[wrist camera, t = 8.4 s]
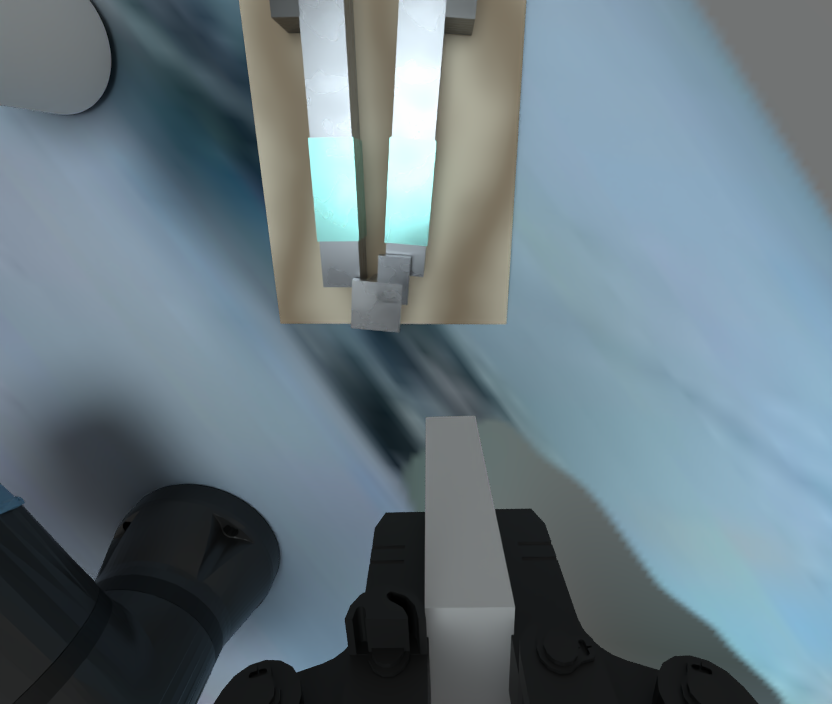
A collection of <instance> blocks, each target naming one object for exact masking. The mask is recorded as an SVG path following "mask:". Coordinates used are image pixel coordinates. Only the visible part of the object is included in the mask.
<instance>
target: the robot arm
mask: <svg viewBox="0 0 832 704" xmlns="http://www.w3.org/2000/svg"><path fill="white" fill-rule="evenodd" d="M425 467H426V471H425V474H426V475H425V512H395V513H385V514H384V516H383V517H382V519H381V520H380V522H379V523H378V524H377V526H376V527H375V532H374V538H373V545H372V552H371V558H370V565H369V571H368V578H367V585H366V591H365V593H363V594H361V595H360V596H359V597H358V598H357V599H356V600H355V601H354V602H353V603H352V604H351V605H350V608H349V610H348V613H347V615H346V617H345V625H346V633H347V641H348V647H347V648H346V649H345V650H344V651H343V652H342V653H341V654H339V655H338V656H337V657H335V658H334V659H332V660H329V661H327V662H325V663H323V664H320V665H317V666H314V667H311V668H309V669H306V670H303V671H300V672H297V673H296V672H295V670H294V668H293V667H292V666H290V665H288V664H286V663H284V662H282V661H279V660H264V661H261V662H258V663H255V664H252V665H249V666H248V667H247V668H245V669H244V670H242V671H241V672H239V673H238V674H237V675H235V676H234V677H233V678H232V679H231V681H230V682H229V683H228V684H227V685H226V687H225V688H224V689H223V690H222V691H221V693H220V695H219V696H218V698H217V699H216V701H215V703H214V704H510V703H511V704H758V703H757V702H756V701H755V700H754V698H753V697H752V696H751V695H750V694H749V692H747V690H746V689H745V688H744V687H743V686H742V685H741V684H740V683H739V682H737V680H736V679H734V678H733V677H732V676H731V675H730V674H729V673H728V672H727V671H725V670H723V669H722V668H720V667H718V666H716V665H715V664H713V663H711V662H709V661H707V660H704V659H700V658H697V657H693V656H674V657H672V658H670V659H669V660H667V661H666V662H664V663H663V664H662V666H661V668H660V670H657V669H653V668H650V667H647V666H643V665H640V664H637V663H633V662H630V661H627V660H624V659H622V658H619V657H617V656H614V655H612V654H611V653H609V652H607V651H606V650H604V649H603V648H601V647H600V646H599V645H597V644H596V643H595V642H594V641H593V639H592V638H591V637H590V636H589V635H588V634H587V633H586V632H585V631H584V629H583V628H582V626H581V624H580V622H579V620H578V618H577V615H576V613H575V610H574V607H573V604H572V601H571V598H570V595H569V592H568V589H567V586H566V583H565V581H564V578H563V575H562V572H561V569H560V566H559V563H558V560H557V559H556V554H555V551H554V549H553V546H552V545H551V540H550V537H549V534H548V531H547V528H546V525H545V523H544V522H543V521H542V520H541V519H540V518H539V517H538V516H537V515H536V514H535V513H534V511H533V510H532V509H495V508H494V503H493V499H492V494H491V489H490V484H489V479H488V475H487V470H486V465H485V460H484V455H483V450H482V445H481V441H480V436H479V431H478V426H477V421H476V416H448V417H426V465H425ZM24 503H25V502H24V500H23V499H22V498H21V497H14V496H13V495H12V494H11V493H10V492H9V491H8V490H7V489H6V488H5V487H4V486H3V485H1V484H0V704H197V703H198V700H199V698H200V696H201V694H202V692H203V689H204V687H205V685H206V683H207V681H208V678H209V676H210V674H211V672H212V669H213V667H214V665H215V663H216V661H217V658H218V656H219V654H220V652H221V650H222V648H223V646H224V645H225V643H226V642H227V641H228V640H229V639H230V638H231V637H232V636H233V634H234V633H235V632H236V631H237V630H238V629H239V628H240V627H241V625H242V624H243V623H244V622H245V621H246V620H247V618H248V617H249V616H250V615H251V614H252V612H253V611H254V610H255V609H256V608H257V607H258V606H259V605H260V604H261V603H262V601H263V600H264V599H265V597H266V596H267V594H268V592H269V590H270V588H271V585H272V583H273V580H274V578H275V576H276V573H277V571H278V567H279V559H280V557H279V548H278V544H277V541H276V538H275V536H274V534H273V532H272V530H271V529H270V527H269V526H268V524H267V523H266V522H265V520H264V519H263V518H262V517H261V516H260V515H259V514H258V513H257V512H256V511H255V510H254V509H252V508H251V507H250V506H249V505H247V504H246V503H244V502H243V501H241V500H240V499H238V498H236V497H234V496H232V495H230V494H228V493H225V492H223V491H220V490H217V489H214V488H210V487H205V486H199V485H174V486H169V487H165V488H161V489H159V490H156V491H154V492H152V493H150V494H148V495H147V496H145V497H144V498H143V499H142V500H141V501H140V502H139V503H138V504H137V505H136V506H135V507H134V508H133V509H132V510H131V511H130V512H129V513H128V515H127V516H126V517H125V518H124V519H123V521H122V522H121V523H120V525H119V527H118V529H117V531H116V533H115V535H114V538H113V540H112V542H111V545H110V547H109V549H108V552H107V554H106V556H105V559H104V561H103V563H102V566H101V568H100V571H99V573H98V575H97V578H96V580H95V581H94V580H93V579H92V578H91V577H90V576H89V575H88V574H87V573H86V572H85V571H84V570H83V569H82V568H81V567H80V566H79V565H78V564H77V563H76V562H75V561H74V560H73V559H72V558H71V557H70V556H69V555H68V554H67V552H66V551H65V550H64V549H63V548H62V547H61V546H60V545H59V544H58V543H57V542H56V541H55V540H54V539H53V537H52V536H51V535H50V534H49V533H48V532H47V531H46V530H45V529H44V528H43V527H42V526H41V525H40V524H39V522H38V521H37V520H36V519H35V518H34V517H33V516H32V515H31V514H30V513H29V512H28V511H27V510H26V509H25V507H24V506H23V505H22V504H24Z"/></svg>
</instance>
